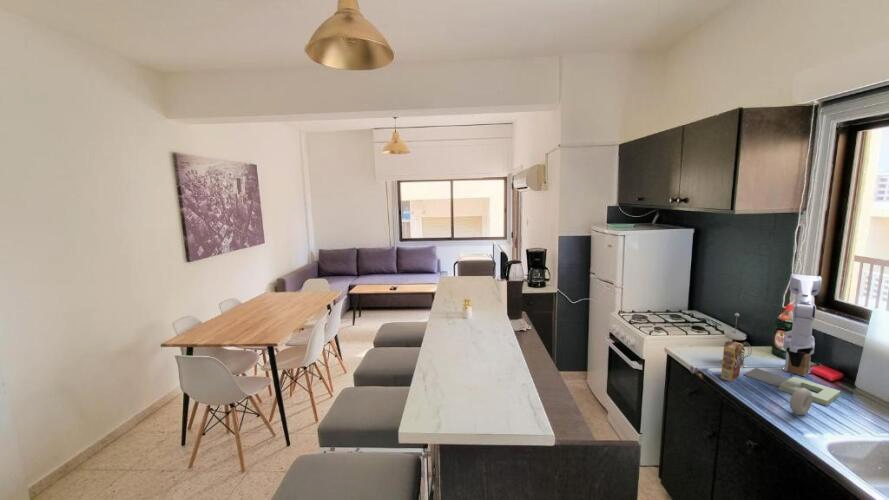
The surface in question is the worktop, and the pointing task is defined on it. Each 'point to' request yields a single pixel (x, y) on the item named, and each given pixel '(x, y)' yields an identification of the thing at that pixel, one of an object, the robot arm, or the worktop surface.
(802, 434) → the worktop surface
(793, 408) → the donut
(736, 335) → the french press
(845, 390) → the worktop surface
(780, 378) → the rubber mat
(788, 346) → the robot arm
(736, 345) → the candy box
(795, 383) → the pocket holder
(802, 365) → the walnut block
